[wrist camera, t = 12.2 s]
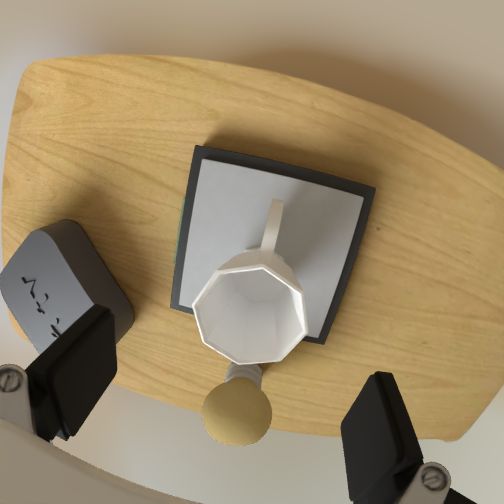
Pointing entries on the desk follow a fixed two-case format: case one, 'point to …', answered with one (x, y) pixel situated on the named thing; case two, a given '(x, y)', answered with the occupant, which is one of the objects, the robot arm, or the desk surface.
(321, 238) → the scale
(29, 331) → the streaming box
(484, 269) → the desk surface
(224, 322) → the cup
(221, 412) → the light bulb
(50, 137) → the desk surface
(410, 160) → the desk surface
